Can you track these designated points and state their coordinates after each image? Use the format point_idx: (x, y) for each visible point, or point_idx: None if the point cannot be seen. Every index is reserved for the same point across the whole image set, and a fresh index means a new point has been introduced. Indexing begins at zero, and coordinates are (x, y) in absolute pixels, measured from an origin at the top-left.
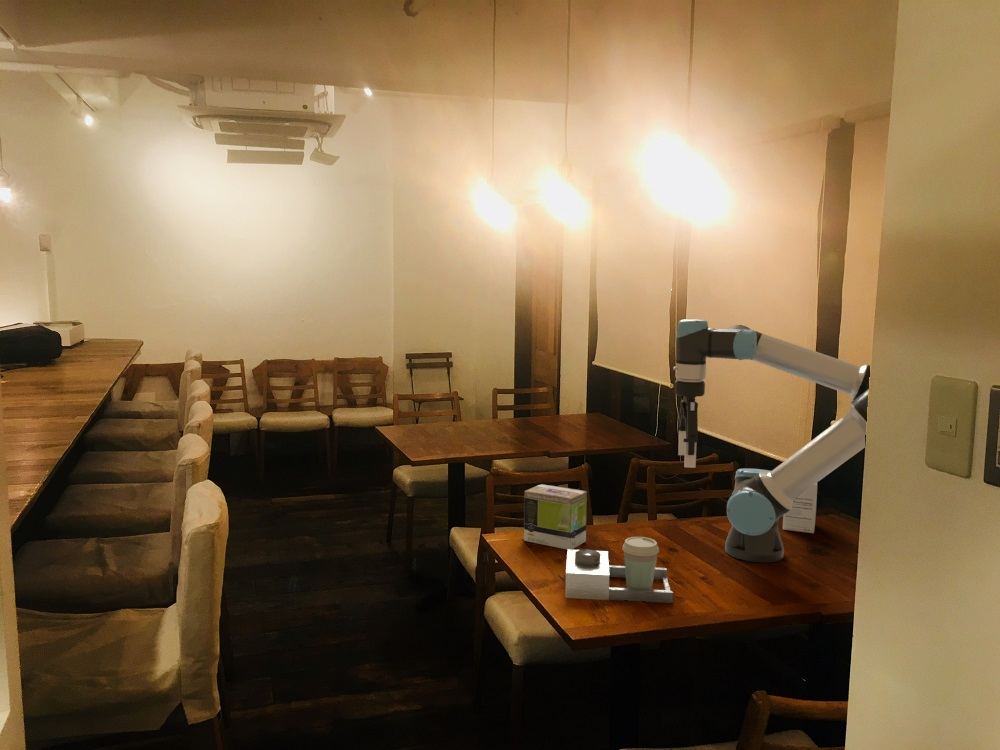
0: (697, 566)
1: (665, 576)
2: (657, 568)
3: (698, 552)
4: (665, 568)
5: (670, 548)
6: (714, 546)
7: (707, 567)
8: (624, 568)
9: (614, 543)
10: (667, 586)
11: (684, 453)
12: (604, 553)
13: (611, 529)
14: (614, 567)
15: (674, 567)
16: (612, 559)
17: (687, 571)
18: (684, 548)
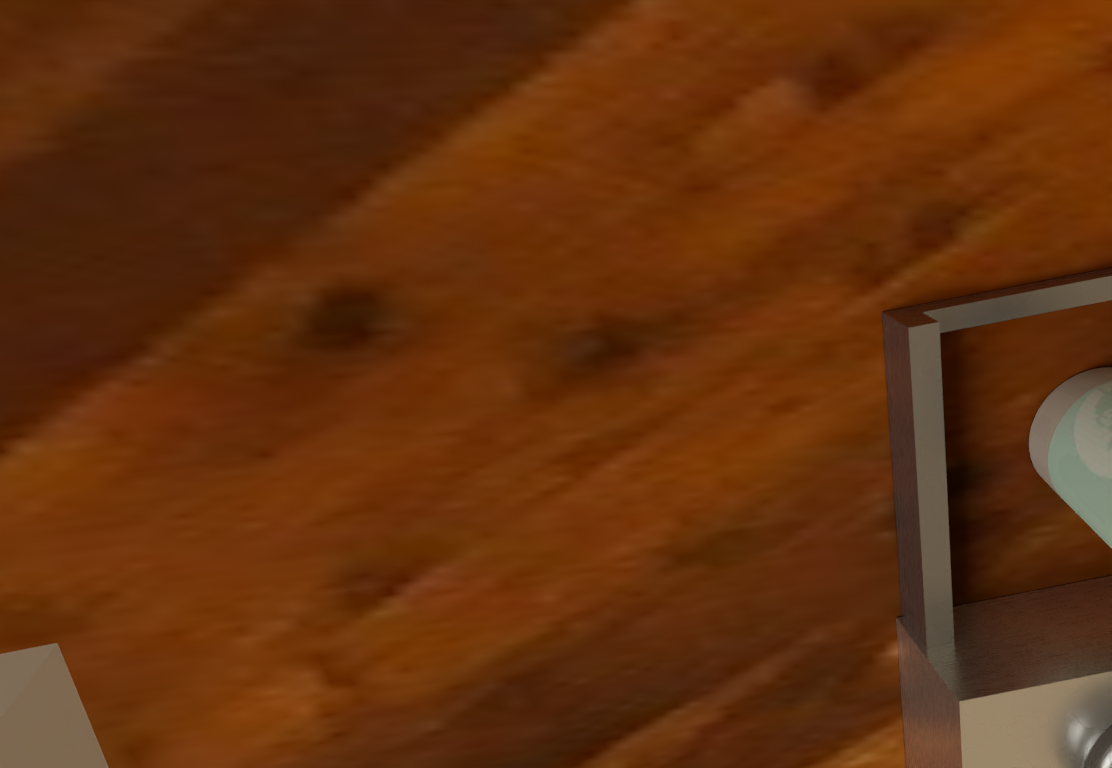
0: (627, 130)
1: (935, 317)
2: (924, 379)
3: (333, 138)
4: (916, 332)
5: (326, 336)
6: (140, 19)
7: (626, 59)
8: (948, 556)
9: (370, 669)
10: (1092, 290)
11: (74, 757)
12: (1003, 710)
13: (101, 731)
14: (952, 608)
15: (688, 278)
16: (655, 632)
17: (738, 191)
18: (286, 243)
